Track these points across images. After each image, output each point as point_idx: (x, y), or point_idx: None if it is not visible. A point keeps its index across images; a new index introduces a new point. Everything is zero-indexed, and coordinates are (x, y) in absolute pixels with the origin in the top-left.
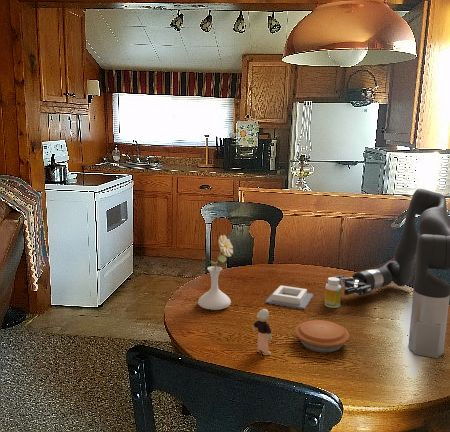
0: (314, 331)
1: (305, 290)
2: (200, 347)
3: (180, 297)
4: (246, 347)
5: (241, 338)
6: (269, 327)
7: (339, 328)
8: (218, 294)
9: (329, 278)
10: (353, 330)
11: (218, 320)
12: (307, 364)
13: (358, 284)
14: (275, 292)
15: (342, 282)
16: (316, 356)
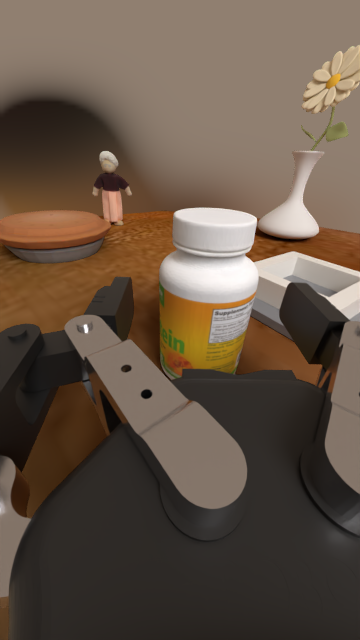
0: (58, 212)
1: None
2: (169, 214)
3: (332, 230)
4: (138, 222)
5: (162, 225)
6: (97, 178)
7: (15, 224)
8: (279, 207)
9: (233, 211)
10: (11, 295)
11: None
12: None
13: (115, 430)
14: (308, 257)
15: (322, 387)
16: None
